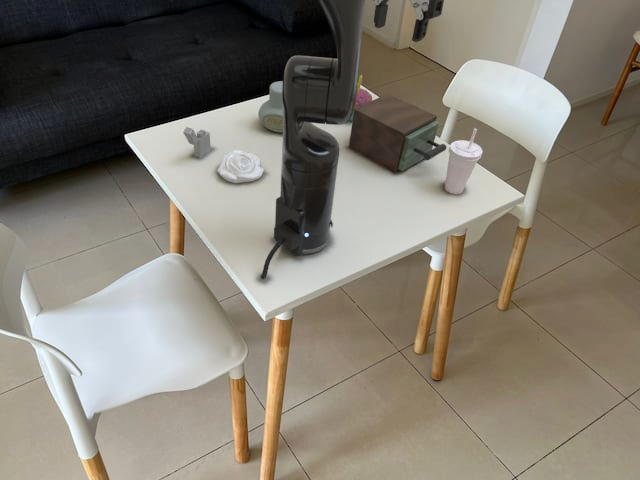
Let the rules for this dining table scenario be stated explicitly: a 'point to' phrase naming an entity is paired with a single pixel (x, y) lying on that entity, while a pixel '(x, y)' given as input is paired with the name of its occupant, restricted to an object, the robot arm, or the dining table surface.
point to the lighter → (198, 141)
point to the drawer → (420, 146)
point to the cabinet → (385, 129)
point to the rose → (240, 167)
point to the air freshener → (273, 109)
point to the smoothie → (461, 163)
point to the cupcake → (361, 96)
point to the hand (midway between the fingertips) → (397, 33)
